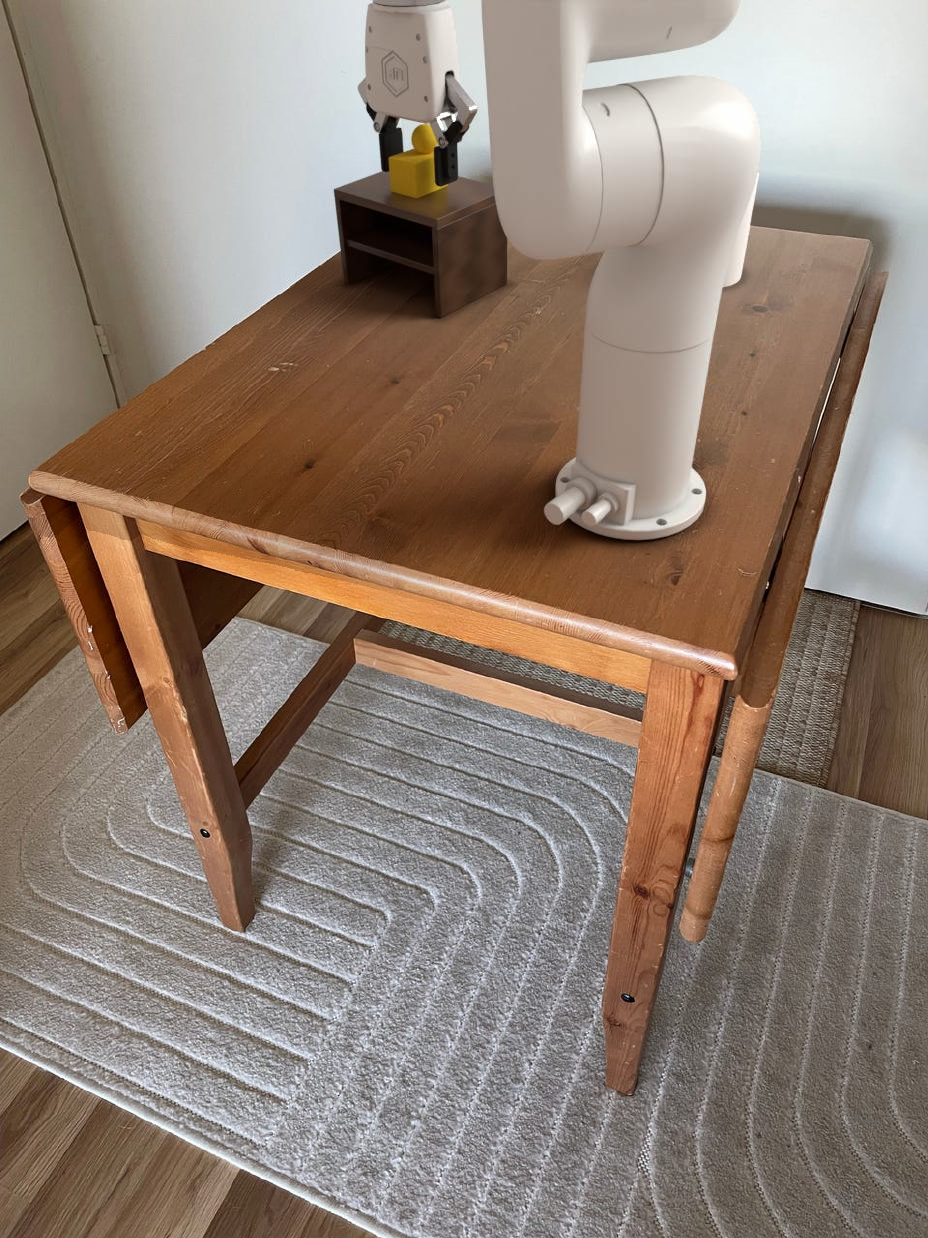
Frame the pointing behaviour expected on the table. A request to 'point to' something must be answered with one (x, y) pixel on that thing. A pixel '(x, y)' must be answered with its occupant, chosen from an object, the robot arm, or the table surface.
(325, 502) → the table surface
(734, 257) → the cylinder with rectangular tab
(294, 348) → the table surface
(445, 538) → the table surface
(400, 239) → the shelf
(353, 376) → the table surface
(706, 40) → the robot arm
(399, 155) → the duck
